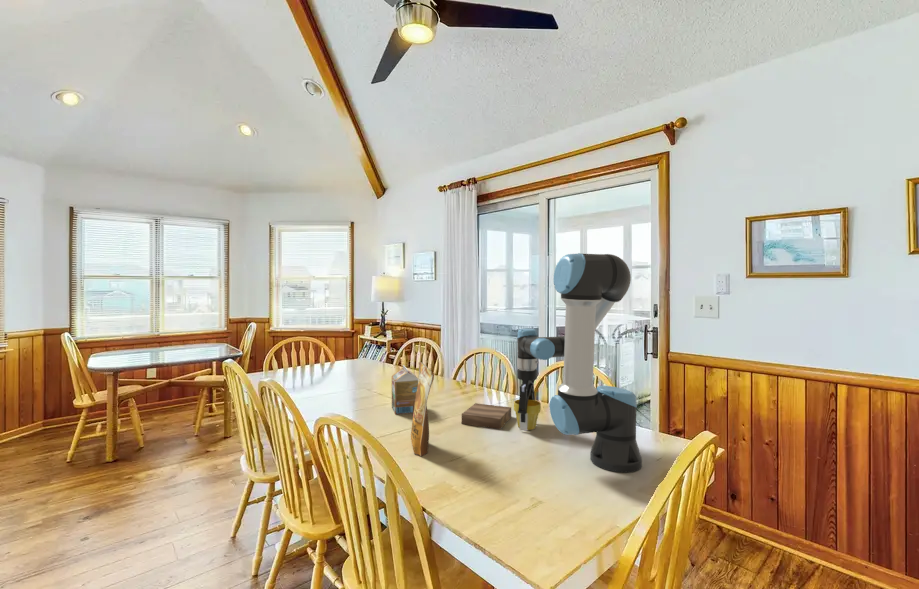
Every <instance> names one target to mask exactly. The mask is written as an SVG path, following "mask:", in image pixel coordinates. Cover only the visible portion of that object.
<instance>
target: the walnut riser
mask: <svg viewBox="0 0 919 589" xmlns="http://www.w3.org/2000/svg"><path fill="white" fill-rule="evenodd" d="M511 418H512V407H511V406H503V405H495V404H485V403H477V402H475V403H474V404H472V405H471V406H470V407H468V408H467V409H466V410H465V411H464V412H462V413H461V425H468V426H475V427H480V428H488V429H497V430H501V429H502V428H503V427H504V426H505V425H506V424H507V422H508V421H509V420H510V419H511Z"/></svg>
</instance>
